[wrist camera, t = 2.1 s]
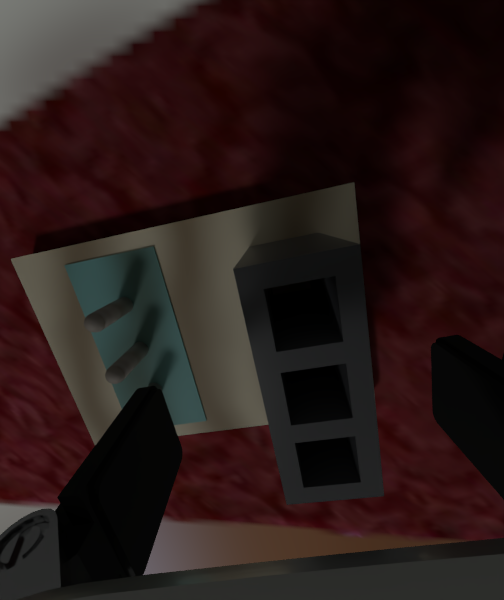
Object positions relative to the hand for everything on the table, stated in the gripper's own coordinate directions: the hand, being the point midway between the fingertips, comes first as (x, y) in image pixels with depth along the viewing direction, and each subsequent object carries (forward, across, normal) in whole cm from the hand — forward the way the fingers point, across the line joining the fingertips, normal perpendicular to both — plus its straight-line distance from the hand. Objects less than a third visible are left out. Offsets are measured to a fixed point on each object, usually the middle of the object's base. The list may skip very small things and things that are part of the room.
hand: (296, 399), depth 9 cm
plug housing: (+7, -1, 0) cm, 7 cm away
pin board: (+9, +5, 0) cm, 10 cm away
